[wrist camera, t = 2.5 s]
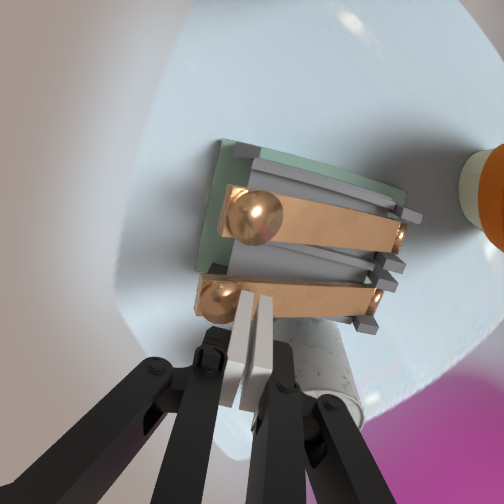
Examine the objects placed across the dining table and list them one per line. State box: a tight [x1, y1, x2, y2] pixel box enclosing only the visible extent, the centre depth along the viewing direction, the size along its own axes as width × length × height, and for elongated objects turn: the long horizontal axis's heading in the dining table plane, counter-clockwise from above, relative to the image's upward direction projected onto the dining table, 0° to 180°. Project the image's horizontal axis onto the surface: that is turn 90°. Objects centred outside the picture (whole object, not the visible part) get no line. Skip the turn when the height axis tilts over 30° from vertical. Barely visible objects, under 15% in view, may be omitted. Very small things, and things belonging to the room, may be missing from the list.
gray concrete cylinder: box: [251, 317, 365, 434], centre depth 27 cm, size 10×10×12 cm
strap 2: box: [194, 273, 385, 324], centre depth 21 cm, size 3×15×2 cm, turn 76°
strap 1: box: [217, 184, 409, 254], centre depth 18 cm, size 3×15×2 cm
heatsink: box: [195, 138, 423, 335], centre depth 25 cm, size 13×18×8 cm
